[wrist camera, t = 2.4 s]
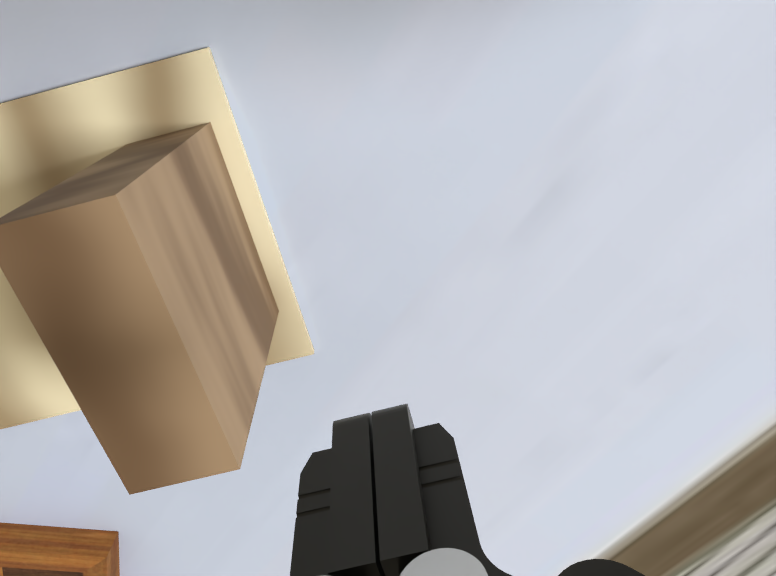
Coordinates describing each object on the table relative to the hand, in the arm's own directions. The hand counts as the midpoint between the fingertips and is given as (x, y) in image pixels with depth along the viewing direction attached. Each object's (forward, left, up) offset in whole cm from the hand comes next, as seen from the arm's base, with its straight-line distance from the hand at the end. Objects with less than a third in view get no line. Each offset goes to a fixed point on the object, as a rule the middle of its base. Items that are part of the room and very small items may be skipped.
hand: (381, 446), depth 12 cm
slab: (+8, 0, -19) cm, 20 cm away
